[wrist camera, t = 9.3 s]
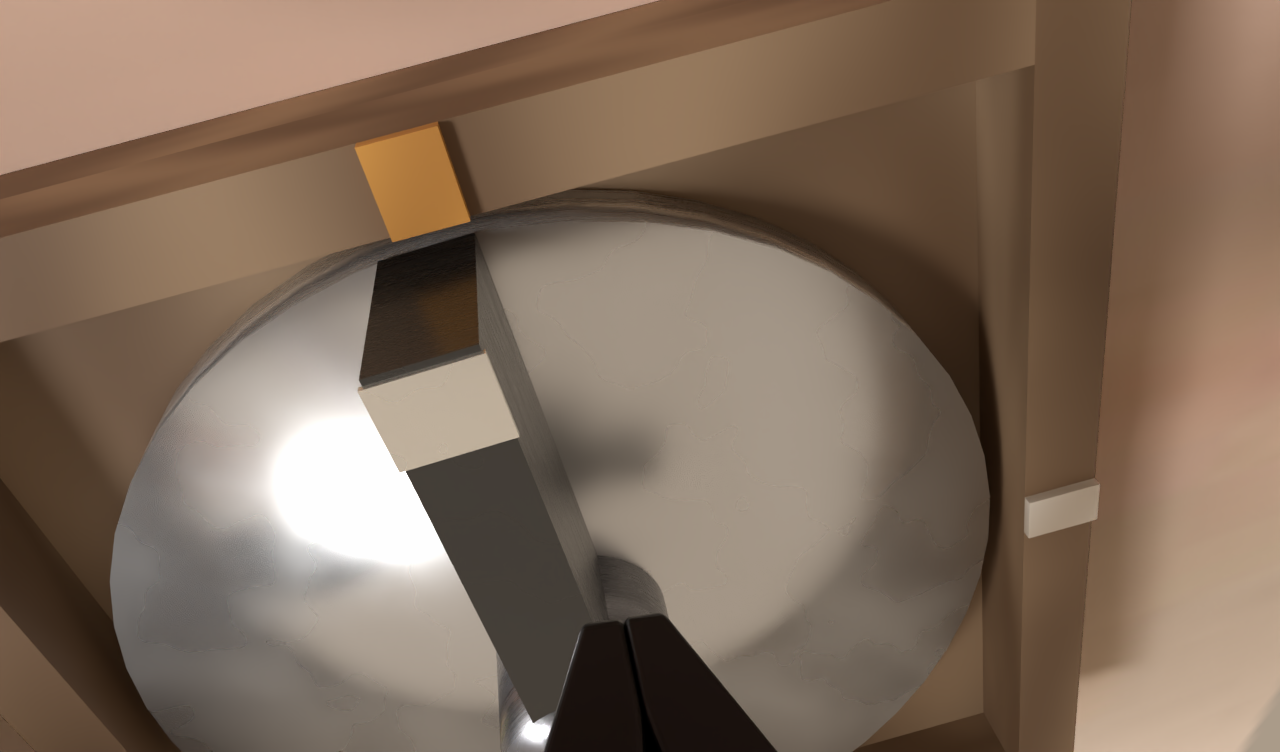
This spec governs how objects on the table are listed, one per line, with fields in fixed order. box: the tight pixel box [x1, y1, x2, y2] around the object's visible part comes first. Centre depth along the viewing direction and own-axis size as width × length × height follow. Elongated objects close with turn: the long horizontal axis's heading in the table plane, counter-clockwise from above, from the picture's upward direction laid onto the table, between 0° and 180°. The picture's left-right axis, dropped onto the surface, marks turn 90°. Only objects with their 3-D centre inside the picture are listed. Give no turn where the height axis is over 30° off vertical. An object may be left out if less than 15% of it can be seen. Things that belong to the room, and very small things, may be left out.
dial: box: [110, 190, 990, 752], centre depth 19 cm, size 18×18×5 cm
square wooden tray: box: [0, 0, 1132, 752], centre depth 21 cm, size 22×22×4 cm
